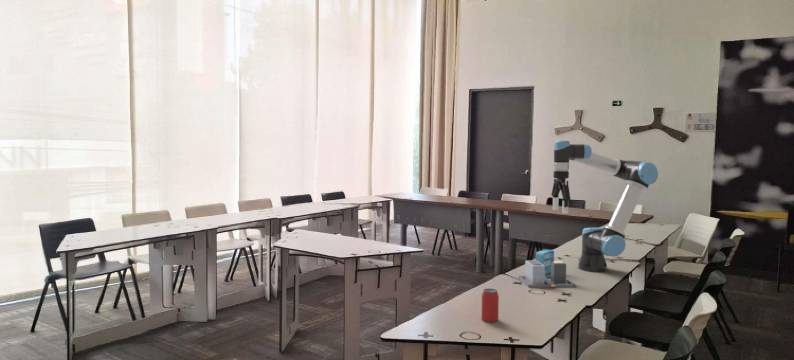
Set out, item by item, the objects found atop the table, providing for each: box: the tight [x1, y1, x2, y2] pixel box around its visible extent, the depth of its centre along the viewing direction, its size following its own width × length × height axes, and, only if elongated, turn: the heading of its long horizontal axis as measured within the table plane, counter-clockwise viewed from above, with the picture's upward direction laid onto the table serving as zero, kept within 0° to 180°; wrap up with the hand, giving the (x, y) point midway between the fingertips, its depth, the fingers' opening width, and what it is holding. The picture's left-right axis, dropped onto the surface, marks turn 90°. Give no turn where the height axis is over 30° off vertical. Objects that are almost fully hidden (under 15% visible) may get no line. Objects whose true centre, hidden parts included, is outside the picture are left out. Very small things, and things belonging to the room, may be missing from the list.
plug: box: [550, 260, 567, 284], centre depth 265 cm, size 6×5×10 cm
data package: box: [535, 248, 555, 275], centre depth 284 cm, size 12×4×12 cm, turn 136°
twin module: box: [524, 259, 546, 285], centre depth 264 cm, size 6×12×10 cm, turn 3°
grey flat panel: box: [518, 275, 577, 289], centre depth 264 cm, size 23×18×2 cm
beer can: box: [481, 288, 500, 323], centre depth 210 cm, size 7×7×12 cm
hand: (560, 211), depth 272 cm, fingers open, 13 cm apart
